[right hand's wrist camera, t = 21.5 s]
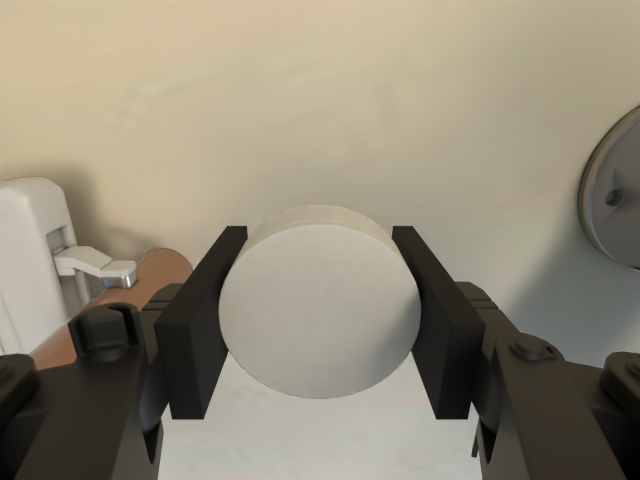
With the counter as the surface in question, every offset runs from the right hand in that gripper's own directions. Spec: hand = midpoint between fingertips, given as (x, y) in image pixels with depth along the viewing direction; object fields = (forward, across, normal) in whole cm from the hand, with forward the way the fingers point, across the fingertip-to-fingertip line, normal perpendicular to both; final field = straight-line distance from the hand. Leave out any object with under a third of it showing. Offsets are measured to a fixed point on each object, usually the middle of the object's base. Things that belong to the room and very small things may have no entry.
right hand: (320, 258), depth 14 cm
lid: (-4, 0, 0) cm, 4 cm away
